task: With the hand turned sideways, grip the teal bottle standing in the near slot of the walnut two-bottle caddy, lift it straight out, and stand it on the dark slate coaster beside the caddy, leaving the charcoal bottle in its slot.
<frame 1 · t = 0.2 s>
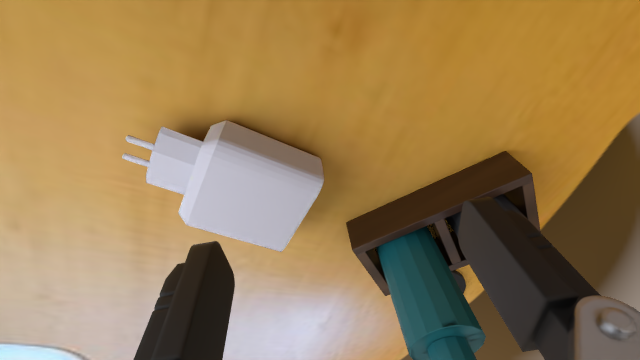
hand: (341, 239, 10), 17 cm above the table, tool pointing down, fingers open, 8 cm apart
charcoal bottle: (469, 201, 33), resting in caddy
caddy: (433, 216, 34), on the table
charger: (225, 163, 28), on the table
teal bottle: (399, 231, 35), resting in caddy
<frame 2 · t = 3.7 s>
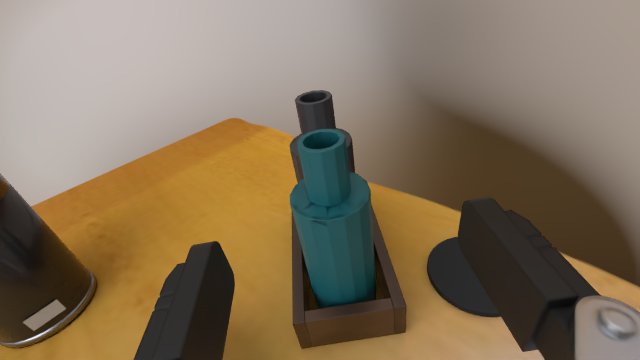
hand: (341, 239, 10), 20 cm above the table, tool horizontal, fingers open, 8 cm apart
charcoal bottle: (335, 235, 37), resting in caddy
coaster: (475, 273, 30), on the table
caddy: (339, 262, 34), on the table
teal bottle: (345, 294, 31), resting in caddy
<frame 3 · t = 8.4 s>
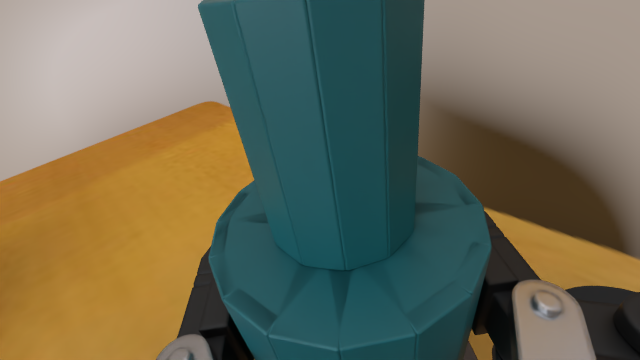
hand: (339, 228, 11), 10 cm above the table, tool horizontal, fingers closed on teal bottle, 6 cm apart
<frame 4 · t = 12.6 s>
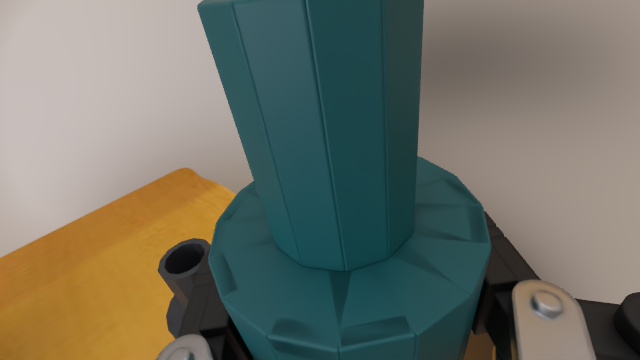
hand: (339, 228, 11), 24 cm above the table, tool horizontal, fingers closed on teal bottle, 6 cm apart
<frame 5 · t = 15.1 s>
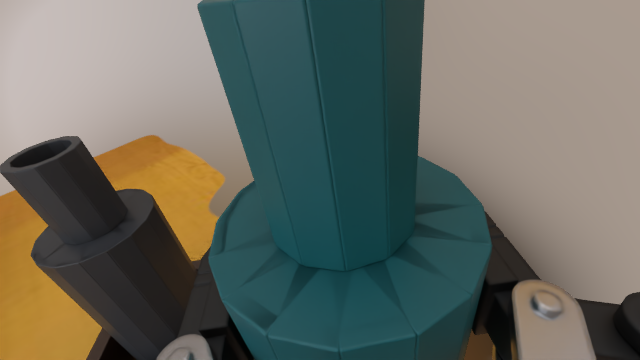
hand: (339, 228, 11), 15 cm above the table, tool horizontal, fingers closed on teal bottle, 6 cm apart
charcoal bottle: (188, 340, 24), resting in caddy
when the fingers open (11 cm above the table, at t = 17.0 s): teal bottle stays where it is, resting on coaster.
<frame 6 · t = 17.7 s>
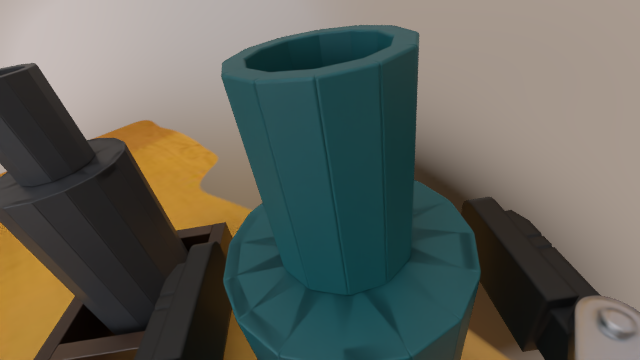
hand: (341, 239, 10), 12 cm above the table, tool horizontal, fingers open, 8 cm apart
charcoal bottle: (170, 314, 22), resting in caddy
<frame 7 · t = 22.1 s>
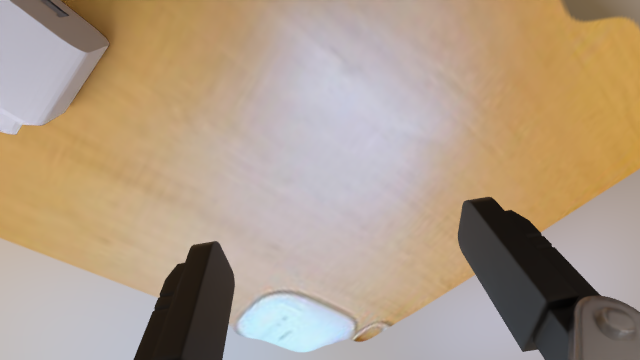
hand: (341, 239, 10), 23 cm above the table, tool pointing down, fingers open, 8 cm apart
charger: (25, 64, 28), on the table
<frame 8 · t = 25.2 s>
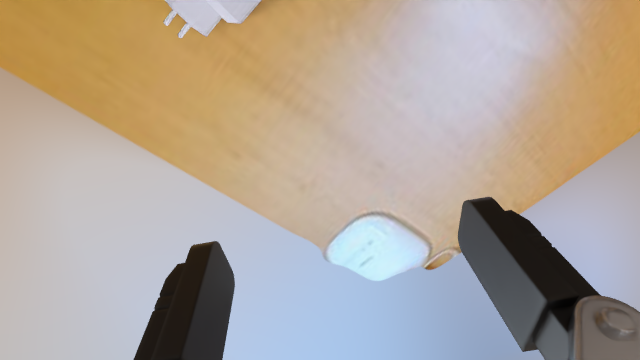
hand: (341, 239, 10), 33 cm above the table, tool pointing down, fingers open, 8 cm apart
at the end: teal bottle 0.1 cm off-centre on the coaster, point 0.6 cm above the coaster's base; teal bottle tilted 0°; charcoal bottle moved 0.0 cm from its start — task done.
